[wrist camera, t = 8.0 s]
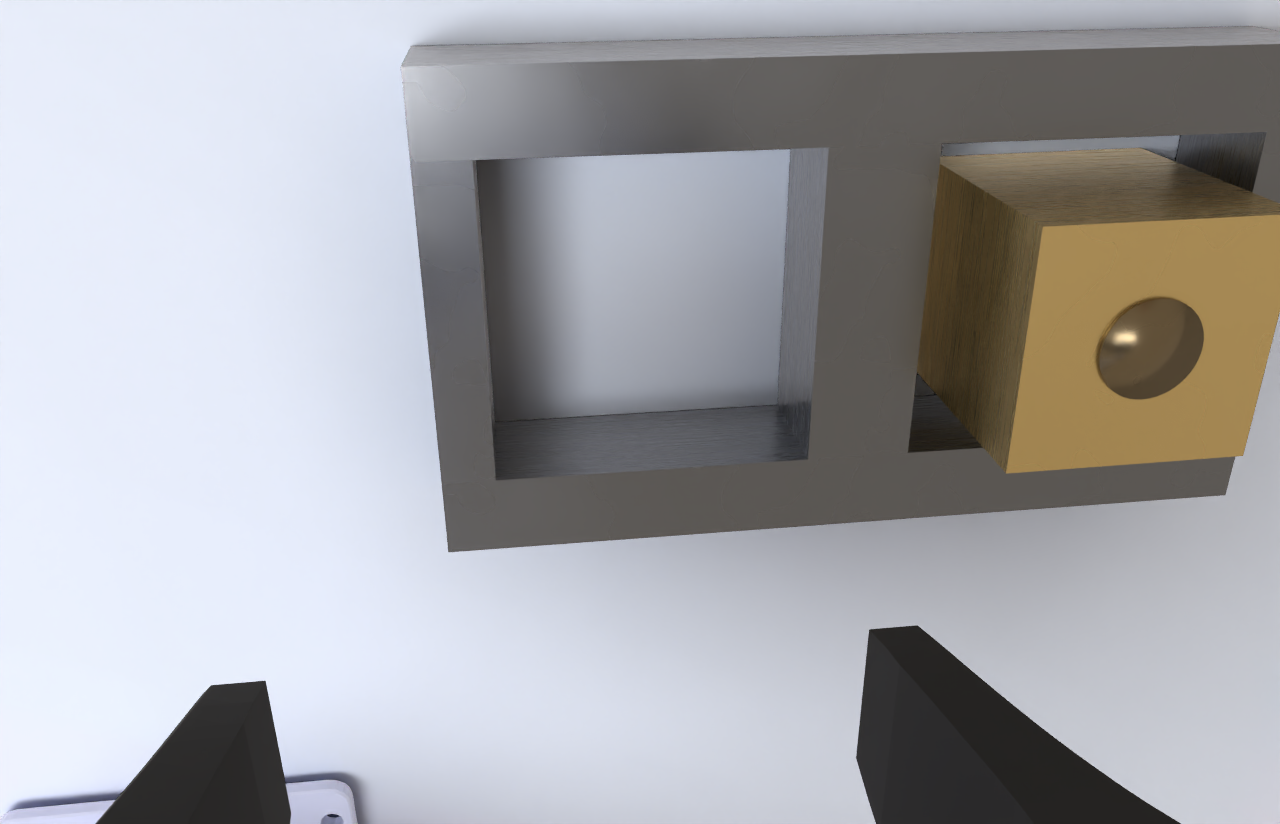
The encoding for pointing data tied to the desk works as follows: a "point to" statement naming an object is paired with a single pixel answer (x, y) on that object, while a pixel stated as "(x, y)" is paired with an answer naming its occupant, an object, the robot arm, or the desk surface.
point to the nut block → (1098, 307)
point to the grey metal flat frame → (794, 260)
